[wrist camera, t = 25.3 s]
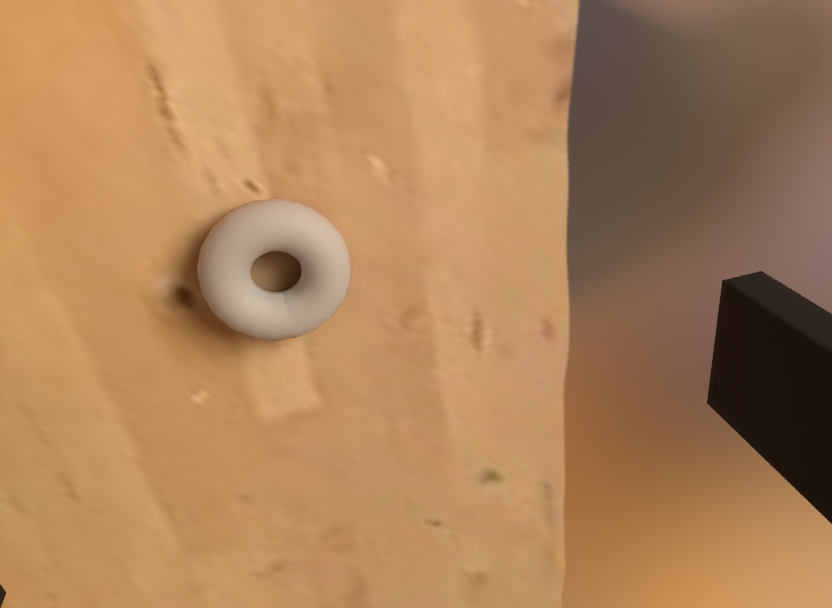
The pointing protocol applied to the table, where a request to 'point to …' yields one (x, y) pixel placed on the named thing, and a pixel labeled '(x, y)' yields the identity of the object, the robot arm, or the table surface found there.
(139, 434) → the table surface
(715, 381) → the robot arm
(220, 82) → the table surface
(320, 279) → the donut
